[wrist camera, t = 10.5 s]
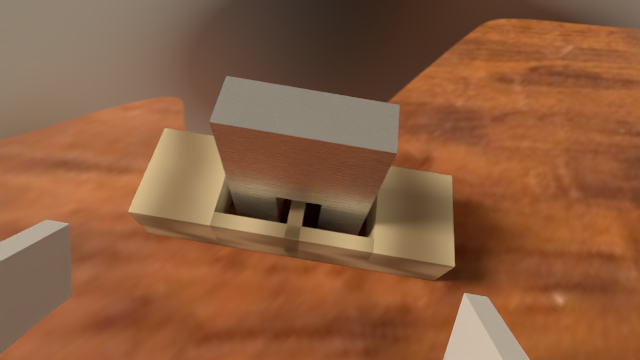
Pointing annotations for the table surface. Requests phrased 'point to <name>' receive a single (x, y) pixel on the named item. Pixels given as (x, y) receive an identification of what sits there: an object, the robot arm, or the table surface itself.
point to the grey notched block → (303, 150)
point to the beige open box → (297, 214)
